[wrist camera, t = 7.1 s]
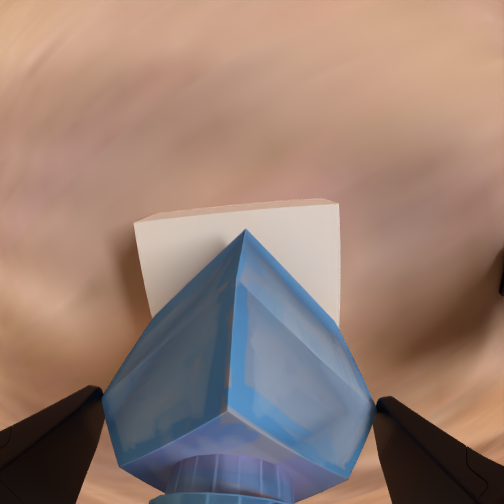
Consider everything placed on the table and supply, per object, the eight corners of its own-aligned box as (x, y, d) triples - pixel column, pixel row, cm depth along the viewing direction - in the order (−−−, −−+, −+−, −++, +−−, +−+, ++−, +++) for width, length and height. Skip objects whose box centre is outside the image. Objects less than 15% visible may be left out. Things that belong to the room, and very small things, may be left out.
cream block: (320, 197, 17) (338, 203, 13) (323, 342, 20) (336, 375, 16) (158, 212, 18) (133, 222, 14) (183, 351, 20) (170, 386, 16)
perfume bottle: (154, 315, 14) (24, 536, 2) (246, 228, 13) (184, 572, 1) (243, 390, 15) (229, 607, 3) (335, 322, 14) (438, 563, 2)
